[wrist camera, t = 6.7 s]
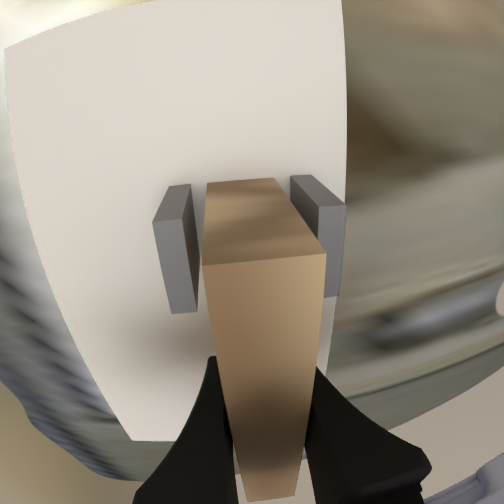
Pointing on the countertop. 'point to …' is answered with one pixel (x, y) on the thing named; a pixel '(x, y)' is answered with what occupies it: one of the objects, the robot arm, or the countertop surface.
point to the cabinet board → (171, 172)
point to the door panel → (263, 325)
